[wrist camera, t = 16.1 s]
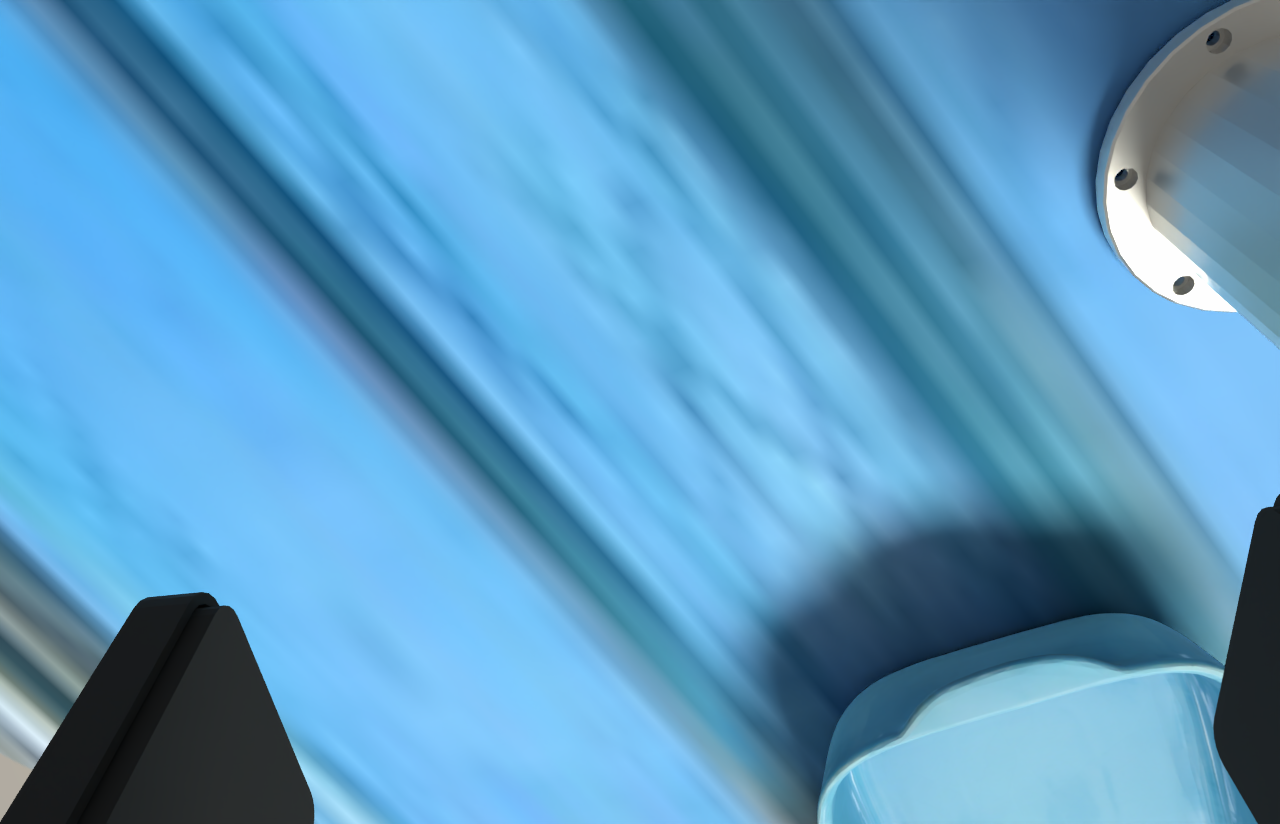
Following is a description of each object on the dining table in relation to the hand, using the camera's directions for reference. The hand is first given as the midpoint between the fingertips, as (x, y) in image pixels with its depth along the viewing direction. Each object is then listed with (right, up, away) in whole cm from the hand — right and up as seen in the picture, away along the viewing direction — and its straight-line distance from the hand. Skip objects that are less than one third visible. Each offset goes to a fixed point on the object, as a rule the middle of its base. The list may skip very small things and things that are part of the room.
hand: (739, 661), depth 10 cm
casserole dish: (+22, -20, +51) cm, 59 cm away
